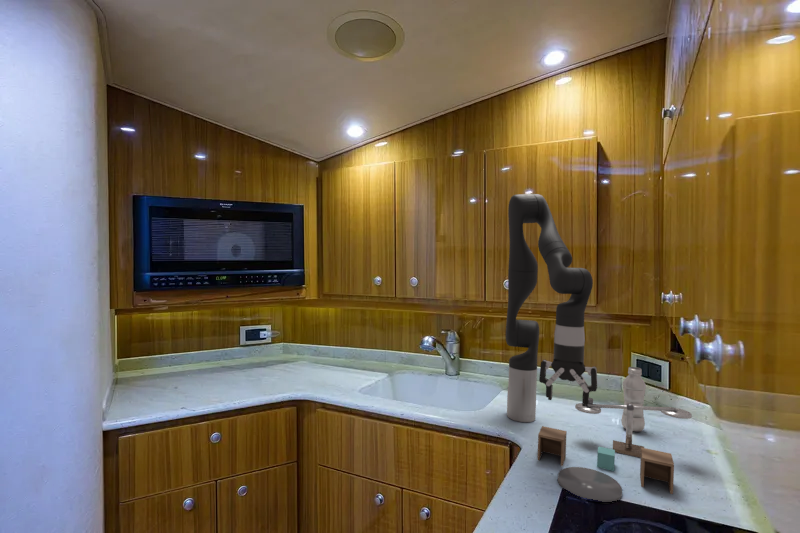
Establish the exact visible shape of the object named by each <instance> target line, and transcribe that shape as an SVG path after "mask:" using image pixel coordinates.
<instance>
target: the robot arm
mask: <svg viewBox="0 0 800 533" xmlns="http://www.w3.org/2000/svg"><path fill="white" fill-rule="evenodd" d="M507 211H508V213H507V214H508V232H509V233H508V234H509V236H508V237H509V251H508V252H509V253H508V254H509V255H508V256H509V257H508V270H507V271H508V272H507V273H508V275H507V278H508V279H507V281H508V282H507V287H508V288H507V291H508V292H507V295H508V297H507V311H506V312H507V314H506V321H505V322H506V324H505V341H506V345H507V346H510V347H513V348H515V347H518V348H523V349H524V348H525V349H526V348H527V350H526V351H525V352H523V353H519V354H515V355H513V356H511V357H510V358H509V360H508V381H507V383H508V386H507V396H506V397H507V399H506V400H507V401H506V413H507V415H506V416H507V417H508V418H509V419H510V420H512V421H515V422H519V423H531V422H534V421H535V420H536V415H537V413H536V412H537V410H536V409H537V387H538V386H537V383H538V382H537V380H538V377H539V380H538V381H539V383H542V384H544V385H545V397H546V398H547V399H548V400H549V401H552V399H553V389H554V388H553V386H554V385H553V383H554V382H555V381H556V380H558V378H559V379H560V380H561V381H569V382H575V381H576V382H577V384H578V385H579V386H580V387H581V389H582V390H583V391H582V401H581V402H582V406H586V405H588V402H589V398H590V393H592V392H594V393H595V392H597V390H598V369H597V367H596V366H592V367H591V366H586V365H585V362H584V361H585V344H586V343H585V342H586V339H585V336H586V334H585V311H586V309H587V305H588V301H589V299H590V296H591V294H592V290H593V283H594V280H593V276H592V274H591V272H590V271H589V270H588V269H586V268H583V267H570V266H571V265H572V263H573V256H572V253H571V252H570V250H569V248H568V247H567V245H566V244H565V242H564V241H563V239H562V237H561V236H560V234H559V231H558V229H557V225H556V222H555V221H554V216H553V215H552V212H551V209H550V206H549V205H548V202H547V200H546V198H545V197H544V196H543V195H542V194H538V193H527V194H526V193H525V194H524V193H522V194H514V195H512V196H511V197H510V199H509V202H508V210H507ZM524 224H537V225H538V226H539V227H540V229H541V230H540V233H539V237H538V241H537V244H538V246H537V248H538V251H539V253H540V255H541V257H542V258H543V261H544V263H545V264H546V267H547V272H548V277H549V278H548V279H549V285H550V286H551V289H553V290H554V292H556V293H558V294H560V295H570V296H569V299H568V300H566V301H565V302H564V301H563V302H561V303H559V304H557V305H556V309H555V310H556V312H555V314H556V315H555V328H554V338H553V361H549V360H547V359H542V361H541V362H540V368H539V369H540V370H539V376H538V351H539V341H540V325H539V323H538V321H536V320H532V319H531V320H530V319H528V320H527V319H517V316H518V313H519V312H520V309H521V308H522V306H523V304H524V303H525V302H526V300H527V299H528V298H529V296H530V295H531V293H533V291H534V290H535V288H536V286H537V283H538V270H539V268H538V266H539V264H538V261H537V259H536V256H535V255H534V253H533V252H532V250H531V249H530V247H529V245H528V243H527V242H526V239H525V235H524ZM550 367H551V369H553V371H554V373H553V375H552V376H550V377H549V379H548V378H547V370H548V369H549V368H550ZM585 372H587V375H588V376H589V377H590V382H591V384H590V385H588V383H587V381H586V380H585V377H583V374H585ZM537 376H538V377H537Z"/></svg>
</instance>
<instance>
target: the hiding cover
mask: <svg viewBox="0 0 800 533" xmlns="http://www.w3.org/2000/svg"><path fill="white" fill-rule="evenodd" d="M543 453H546V454H551V455H554V456H555V455H556V456H559V457H560V466H561V467H563V466H564V463H565V460H566V456H567V454H566V453H567V430H564V429H558V428H553V427H547V426H543V425H541V428H540V430H539V432H538V434H537V457H536V458H537V459H536V460H537V461H540V459H541V457H542V455H543Z"/></svg>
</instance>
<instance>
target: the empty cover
mask: <svg viewBox="0 0 800 533" xmlns="http://www.w3.org/2000/svg"><path fill="white" fill-rule="evenodd" d="M639 468H640V469H639V476H640V477H639V478H640V480H639V481H640V486H641V488H644V486H645V485H644V484H645V478H649V479H652V480H657V481H662V482H666V483H667V486H668V488H669V489H668V490H669V494H670V495H673V494H674V479H675V478H674V477H675V462H674V459H673V455H672V453H670V452H665V451H661V450H655V449H650V448H646V447H644V448H642V447H641V458H640V465H639Z"/></svg>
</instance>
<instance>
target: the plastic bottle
mask: <svg viewBox="0 0 800 533" xmlns="http://www.w3.org/2000/svg"><path fill="white" fill-rule="evenodd" d="M642 372H643V371H642V368H640V367H636V366H629V367H628V371H627V374H628V375H627V376H626V377H625V378H624V379H623V381H622V389H623V399H624V400H623V405H627V404H632V405H633V406H644V399H645V394H646V389H647V385H646V382H645V381H644V379H643V377H642V376H643V374H642ZM622 410H623V411H622V415H621V419H620V420H621V425H622V427H623V428H624V429H625V430H626V420H627V409H622ZM645 424H646V423H645V417H644V410H633V431H632V432H636V433H639V432H643V430H644V429H645Z"/></svg>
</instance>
